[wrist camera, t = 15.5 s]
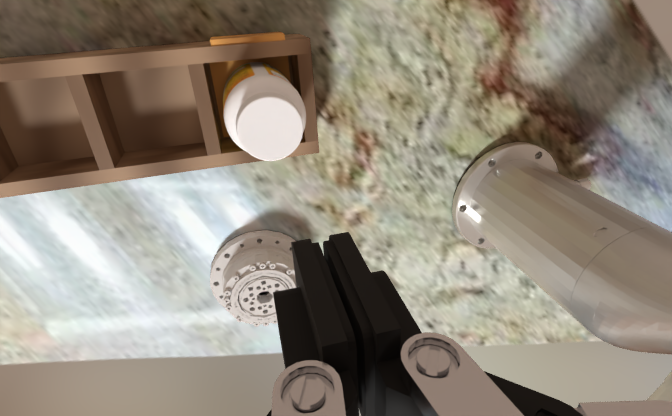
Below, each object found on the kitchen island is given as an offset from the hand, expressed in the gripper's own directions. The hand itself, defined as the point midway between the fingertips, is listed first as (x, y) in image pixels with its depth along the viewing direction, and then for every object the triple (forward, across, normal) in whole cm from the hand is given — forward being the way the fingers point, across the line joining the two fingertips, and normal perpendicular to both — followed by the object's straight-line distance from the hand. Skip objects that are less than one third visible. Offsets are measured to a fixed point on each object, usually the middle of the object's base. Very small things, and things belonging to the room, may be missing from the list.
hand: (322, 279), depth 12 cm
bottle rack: (+25, +8, 0) cm, 26 cm away
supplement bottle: (+24, 0, 0) cm, 24 cm away
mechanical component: (+26, +2, +18) cm, 31 cm away
